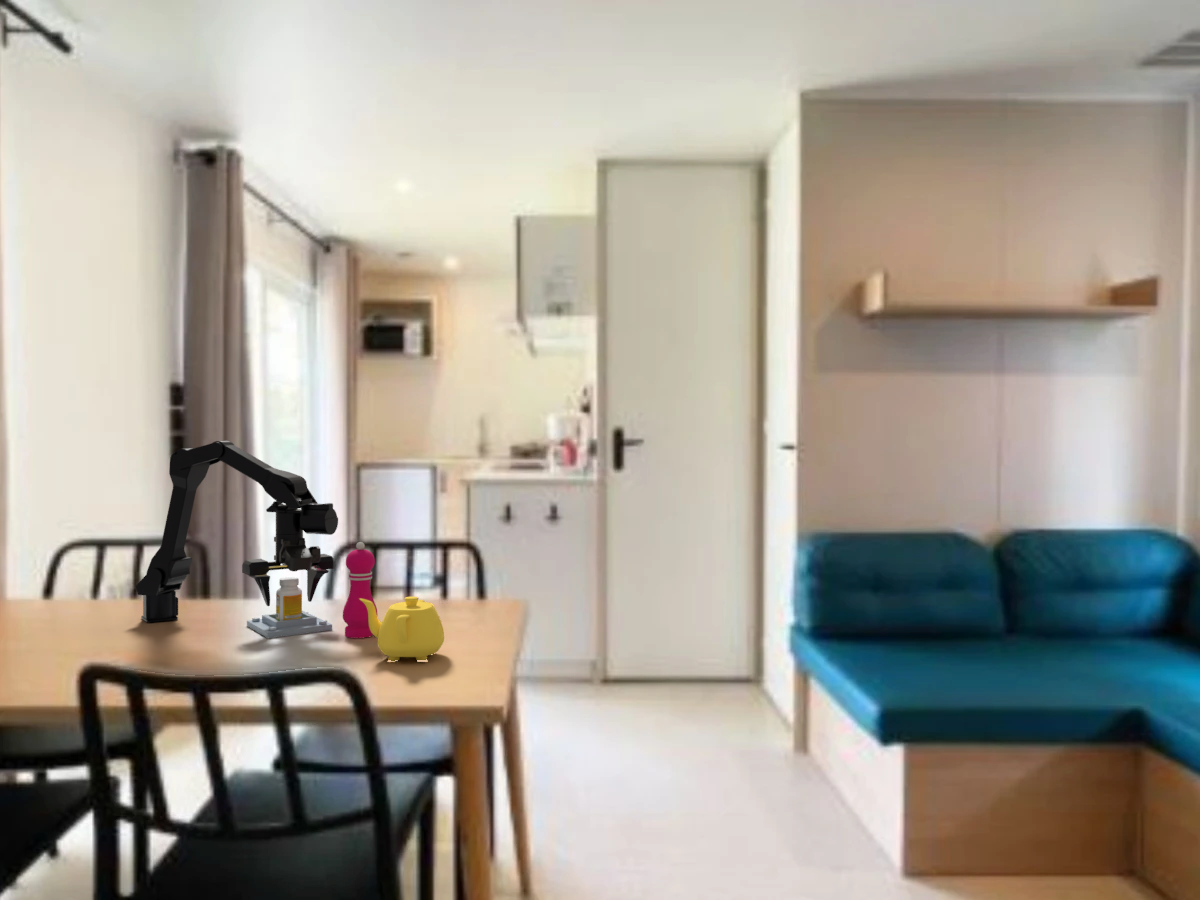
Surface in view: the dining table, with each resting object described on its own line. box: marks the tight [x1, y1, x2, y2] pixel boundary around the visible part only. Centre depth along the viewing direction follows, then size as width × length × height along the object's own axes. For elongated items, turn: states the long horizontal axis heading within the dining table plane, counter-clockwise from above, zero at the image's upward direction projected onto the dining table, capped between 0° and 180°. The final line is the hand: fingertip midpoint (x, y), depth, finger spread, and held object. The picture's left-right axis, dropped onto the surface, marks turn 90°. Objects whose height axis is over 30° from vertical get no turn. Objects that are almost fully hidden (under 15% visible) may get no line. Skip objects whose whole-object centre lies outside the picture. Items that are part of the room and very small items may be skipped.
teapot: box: [360, 596, 445, 661], centre depth 184 cm, size 14×14×12 cm
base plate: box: [246, 610, 333, 639], centre depth 208 cm, size 14×14×3 cm
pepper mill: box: [342, 541, 378, 639], centre depth 202 cm, size 7×7×20 cm
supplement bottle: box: [275, 576, 303, 621], centre depth 208 cm, size 5×5×10 cm
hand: (289, 603), depth 208 cm, fingers open, 9 cm apart
